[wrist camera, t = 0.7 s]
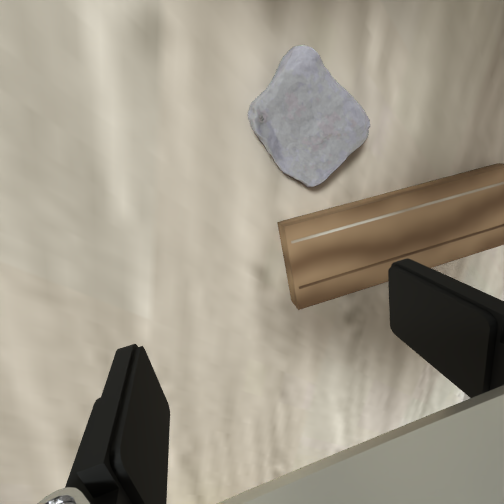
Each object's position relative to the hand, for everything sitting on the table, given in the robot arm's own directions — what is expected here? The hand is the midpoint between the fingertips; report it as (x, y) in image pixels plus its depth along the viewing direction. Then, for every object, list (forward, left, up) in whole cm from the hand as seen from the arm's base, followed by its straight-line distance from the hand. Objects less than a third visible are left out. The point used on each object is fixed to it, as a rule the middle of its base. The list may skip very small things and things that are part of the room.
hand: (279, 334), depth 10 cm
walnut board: (+8, +23, -24) cm, 34 cm away
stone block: (-7, +12, -24) cm, 28 cm away
